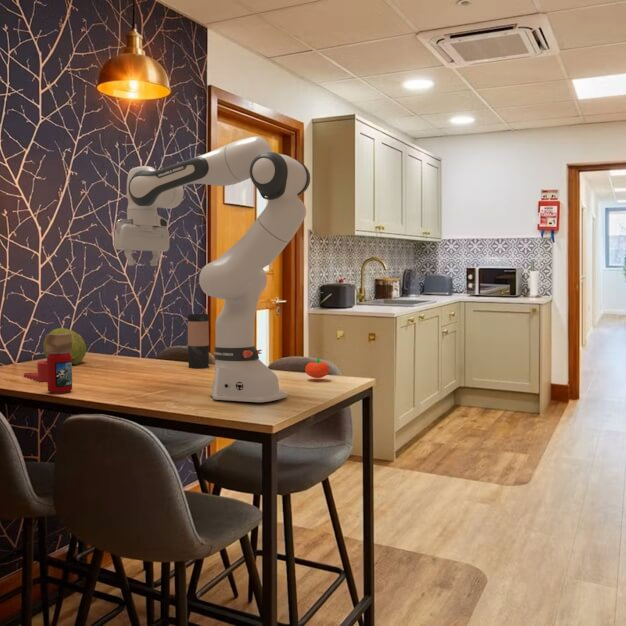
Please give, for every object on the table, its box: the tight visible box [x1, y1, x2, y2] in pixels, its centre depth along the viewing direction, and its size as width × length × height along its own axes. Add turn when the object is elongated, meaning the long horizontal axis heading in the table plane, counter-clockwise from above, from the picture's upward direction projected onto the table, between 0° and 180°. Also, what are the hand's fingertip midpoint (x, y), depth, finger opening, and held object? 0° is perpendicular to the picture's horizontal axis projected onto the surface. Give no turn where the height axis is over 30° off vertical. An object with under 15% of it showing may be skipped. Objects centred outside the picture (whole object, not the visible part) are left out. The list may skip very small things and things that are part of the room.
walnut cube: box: [45, 333, 72, 353], centre depth 196 cm, size 5×5×5 cm
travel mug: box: [187, 313, 210, 370], centre depth 247 cm, size 8×8×20 cm
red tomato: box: [304, 358, 330, 379], centre depth 225 cm, size 7×8×6 cm
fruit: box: [42, 327, 88, 365], centre depth 248 cm, size 16×14×15 cm
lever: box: [23, 360, 47, 383], centre depth 218 cm, size 18×9×7 cm, turn 60°
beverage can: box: [46, 351, 73, 395], centre depth 197 cm, size 7×7×12 cm
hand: (142, 265), depth 208 cm, fingers open, 8 cm apart
